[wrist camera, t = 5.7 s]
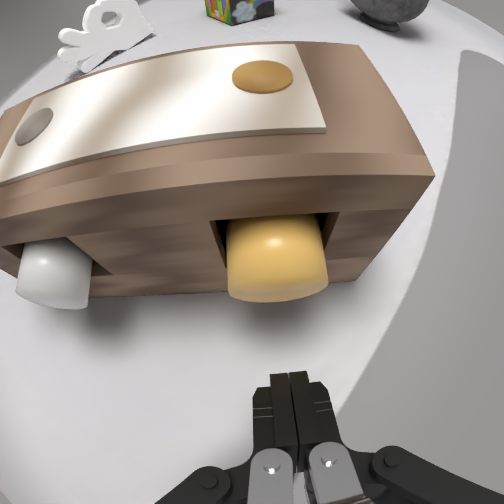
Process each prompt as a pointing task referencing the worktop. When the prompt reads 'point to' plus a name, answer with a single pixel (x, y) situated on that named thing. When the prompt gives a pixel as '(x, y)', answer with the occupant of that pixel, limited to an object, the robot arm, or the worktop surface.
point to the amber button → (275, 258)
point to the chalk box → (239, 10)
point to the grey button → (55, 274)
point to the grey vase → (389, 12)
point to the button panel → (208, 162)
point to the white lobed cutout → (103, 33)
